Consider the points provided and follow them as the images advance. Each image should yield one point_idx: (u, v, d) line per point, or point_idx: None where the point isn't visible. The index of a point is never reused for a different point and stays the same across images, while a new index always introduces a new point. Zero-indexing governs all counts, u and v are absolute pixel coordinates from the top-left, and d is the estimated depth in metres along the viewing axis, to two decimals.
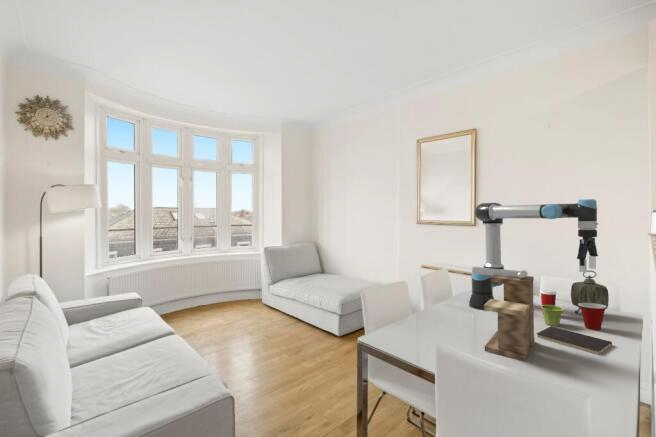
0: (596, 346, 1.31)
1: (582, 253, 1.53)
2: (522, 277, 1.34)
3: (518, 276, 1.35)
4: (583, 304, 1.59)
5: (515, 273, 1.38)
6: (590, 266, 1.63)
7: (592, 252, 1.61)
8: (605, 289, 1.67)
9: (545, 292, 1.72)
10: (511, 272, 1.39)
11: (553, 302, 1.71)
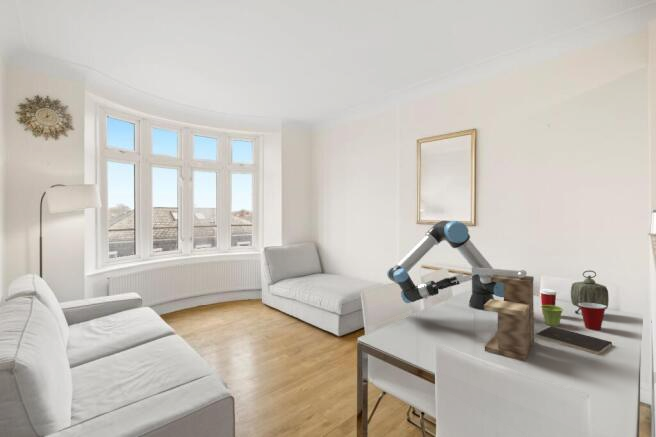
0: (596, 346, 1.31)
1: None
2: (522, 277, 1.34)
3: (518, 276, 1.35)
4: (583, 304, 1.59)
5: (515, 273, 1.38)
6: None
7: None
8: (605, 289, 1.67)
9: (545, 292, 1.72)
10: (511, 272, 1.39)
11: (553, 302, 1.71)
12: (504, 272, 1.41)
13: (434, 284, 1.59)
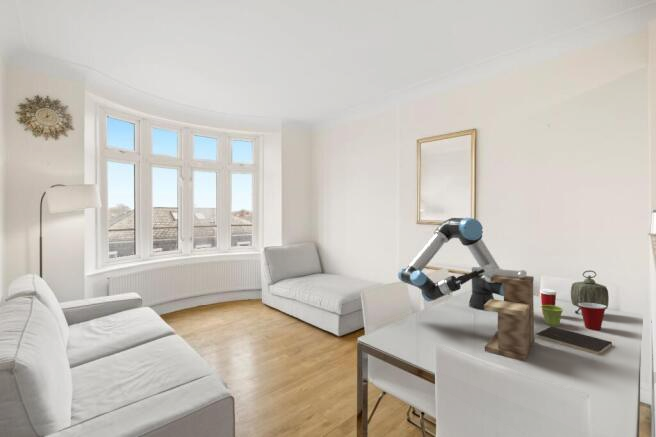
0: (596, 346, 1.31)
1: None
2: (522, 277, 1.34)
3: (518, 276, 1.35)
4: (583, 304, 1.59)
5: (515, 273, 1.38)
6: None
7: None
8: (605, 289, 1.67)
9: (545, 292, 1.72)
10: (511, 272, 1.39)
11: (553, 302, 1.71)
12: (504, 272, 1.41)
13: (458, 280, 1.50)
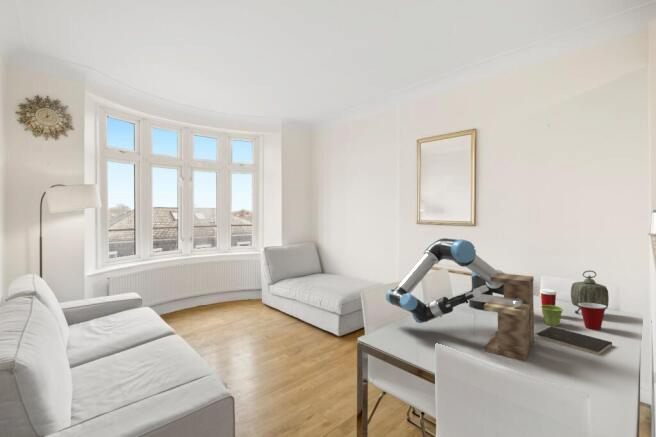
0: (596, 346, 1.30)
1: None
2: (517, 306, 1.26)
3: (513, 305, 1.27)
4: (583, 304, 1.59)
5: (510, 301, 1.30)
6: None
7: None
8: (605, 289, 1.67)
9: (545, 292, 1.72)
10: (506, 300, 1.31)
11: (553, 302, 1.71)
12: (499, 299, 1.33)
13: (448, 304, 1.42)
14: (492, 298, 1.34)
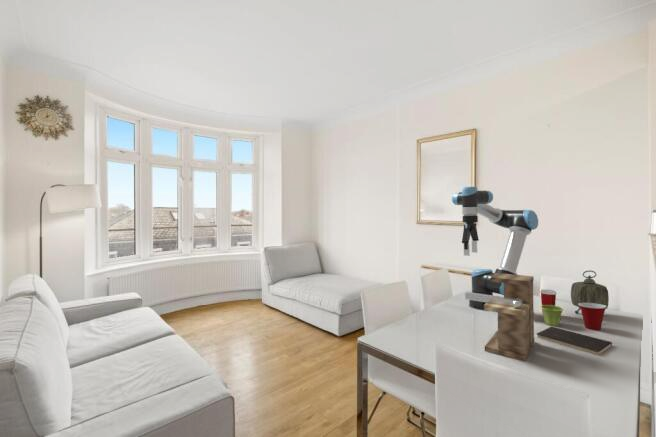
0: (596, 346, 1.30)
1: (466, 237, 1.61)
2: (517, 306, 1.26)
3: (513, 305, 1.27)
4: (583, 304, 1.59)
5: (510, 301, 1.30)
6: (472, 250, 1.74)
7: (474, 237, 1.72)
8: (605, 289, 1.67)
9: (545, 292, 1.72)
10: (506, 300, 1.31)
11: (553, 302, 1.71)
12: (499, 299, 1.33)
13: None
14: (492, 298, 1.34)
